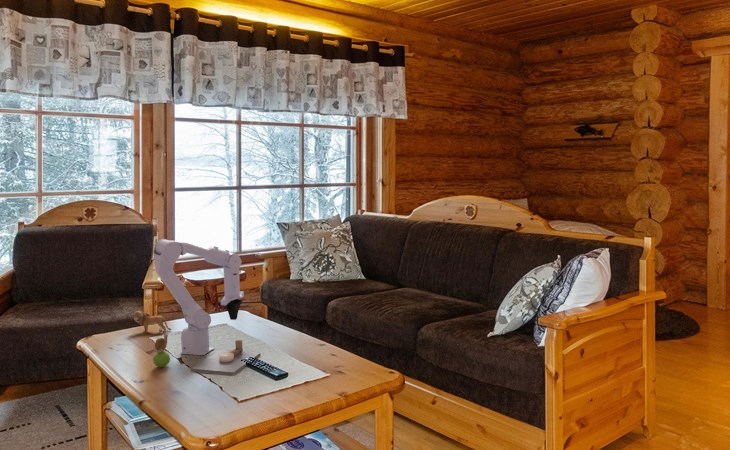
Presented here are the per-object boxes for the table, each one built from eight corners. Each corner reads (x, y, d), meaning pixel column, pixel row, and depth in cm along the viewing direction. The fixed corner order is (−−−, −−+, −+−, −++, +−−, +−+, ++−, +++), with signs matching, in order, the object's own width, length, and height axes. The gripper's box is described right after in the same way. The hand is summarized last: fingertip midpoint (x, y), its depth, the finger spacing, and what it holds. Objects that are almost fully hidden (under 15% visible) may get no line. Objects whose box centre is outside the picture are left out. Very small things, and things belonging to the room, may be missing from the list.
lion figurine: (133, 334, 251) (131, 312, 250) (136, 330, 256) (135, 309, 255) (170, 332, 252) (169, 311, 251) (173, 329, 258) (171, 307, 256)
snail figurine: (175, 364, 214) (173, 330, 213) (163, 370, 208) (161, 335, 207) (162, 362, 216) (160, 329, 215) (150, 368, 210) (148, 334, 209)
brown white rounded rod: (228, 362, 211) (228, 350, 210) (216, 361, 213) (215, 349, 212) (247, 352, 222) (246, 340, 221) (235, 350, 224) (234, 339, 223)
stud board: (190, 371, 207) (190, 368, 207) (220, 352, 226) (220, 349, 226) (238, 375, 202) (238, 372, 202) (264, 355, 221) (264, 352, 221)
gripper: (232, 288, 226) (233, 325, 227) (250, 280, 240) (251, 314, 241) (215, 288, 228) (216, 324, 229) (233, 280, 242) (235, 313, 243)
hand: (233, 319), depth 235 cm, fingers closed
